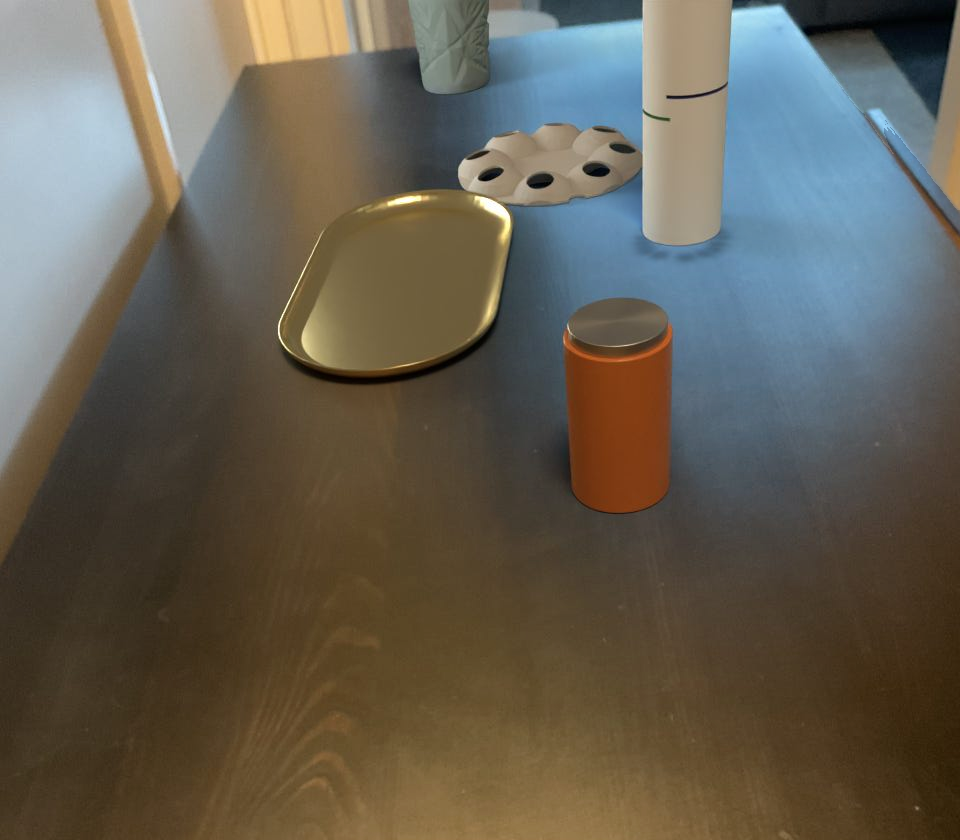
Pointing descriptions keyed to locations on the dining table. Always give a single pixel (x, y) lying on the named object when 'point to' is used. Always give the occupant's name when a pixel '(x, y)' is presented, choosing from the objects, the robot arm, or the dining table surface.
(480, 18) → the drinking glass
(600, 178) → the round palette
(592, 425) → the orange can
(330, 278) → the serving platter
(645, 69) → the cylindrical container
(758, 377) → the dining table surface
